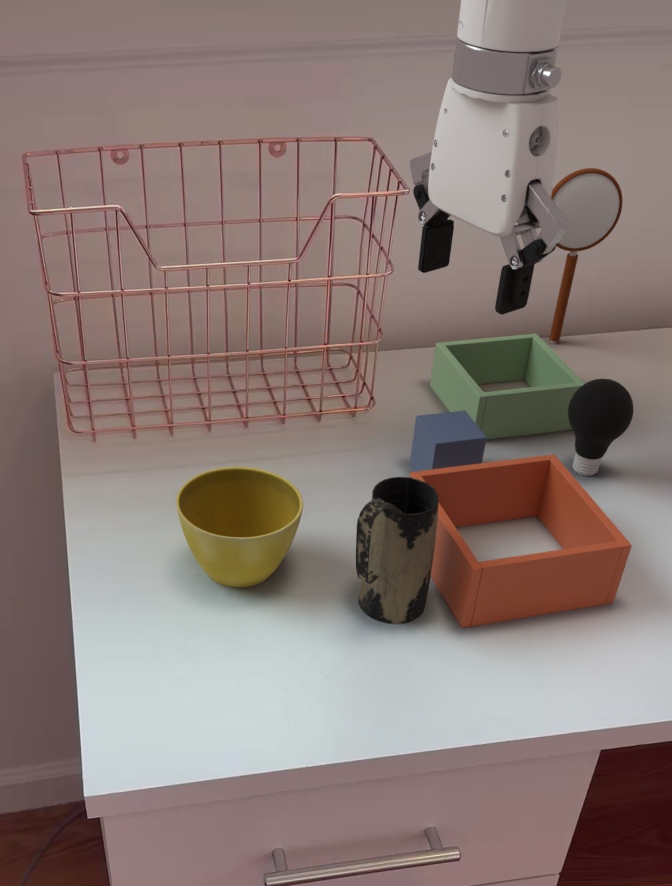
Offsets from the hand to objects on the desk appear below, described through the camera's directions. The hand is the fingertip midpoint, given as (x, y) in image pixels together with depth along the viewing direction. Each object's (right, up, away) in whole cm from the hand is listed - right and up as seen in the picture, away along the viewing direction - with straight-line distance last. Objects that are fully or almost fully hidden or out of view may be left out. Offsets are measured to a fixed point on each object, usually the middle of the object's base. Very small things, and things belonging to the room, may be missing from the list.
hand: (470, 288), depth 89 cm
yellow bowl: (-20, -25, -2) cm, 32 cm away
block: (-1, -15, +9) cm, 18 cm away
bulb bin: (+6, -6, +20) cm, 22 cm away
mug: (-8, -28, -5) cm, 30 cm away
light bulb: (+13, -14, +12) cm, 22 cm away
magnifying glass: (+14, +4, +32) cm, 35 cm away
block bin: (+3, -24, 0) cm, 25 cm away
